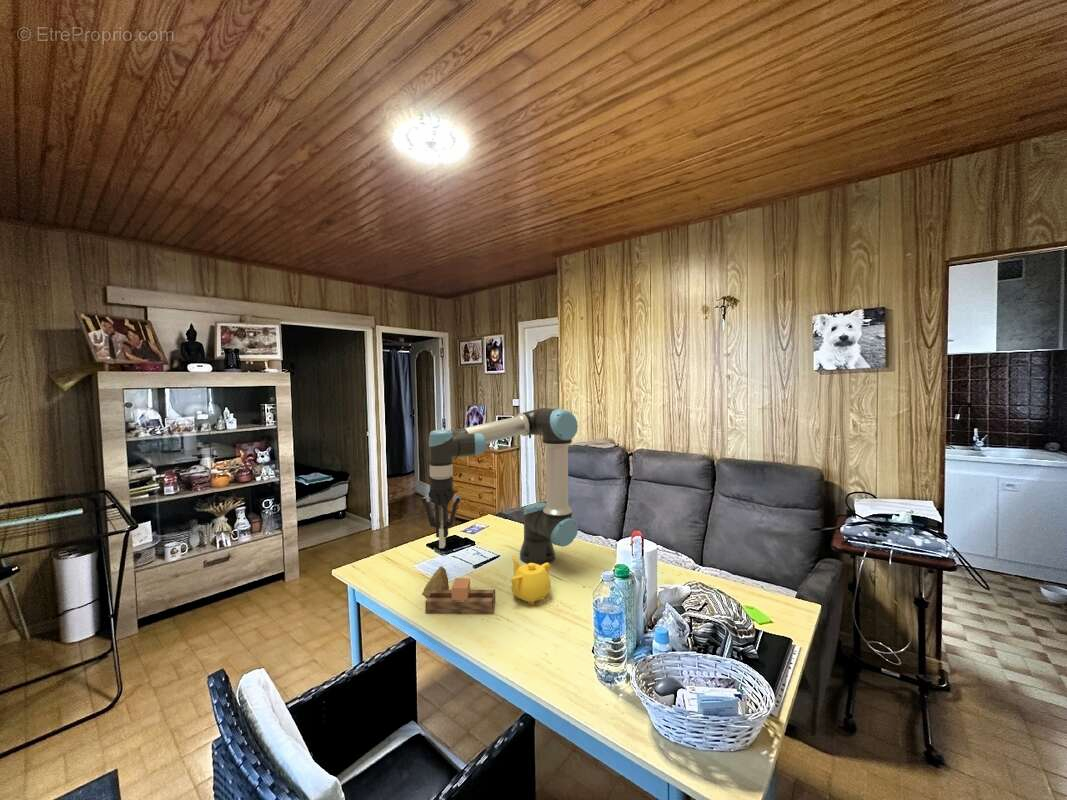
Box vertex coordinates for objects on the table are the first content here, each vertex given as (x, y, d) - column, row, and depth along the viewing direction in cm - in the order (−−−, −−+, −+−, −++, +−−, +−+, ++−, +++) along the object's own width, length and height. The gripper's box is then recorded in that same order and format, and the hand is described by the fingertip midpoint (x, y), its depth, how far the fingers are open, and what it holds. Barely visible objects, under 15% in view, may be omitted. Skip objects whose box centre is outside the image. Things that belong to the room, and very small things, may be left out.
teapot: (549, 586, 154) (549, 554, 154) (551, 607, 140) (552, 572, 139) (511, 586, 154) (511, 555, 153) (510, 607, 140) (510, 572, 139)
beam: (495, 600, 144) (495, 588, 144) (493, 614, 135) (493, 601, 135) (431, 600, 144) (431, 588, 144) (425, 614, 135) (425, 601, 135)
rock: (457, 595, 143) (453, 583, 153) (445, 574, 142) (442, 564, 152) (428, 614, 140) (426, 601, 150) (416, 593, 139) (415, 581, 149)
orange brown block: (470, 597, 143) (470, 578, 143) (467, 608, 136) (466, 588, 136) (455, 597, 143) (455, 578, 143) (451, 608, 136) (451, 588, 136)
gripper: (462, 474, 143) (463, 542, 144) (424, 474, 142) (425, 542, 143) (459, 479, 135) (459, 550, 136) (418, 479, 135) (419, 551, 136)
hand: (442, 546), depth 140 cm, fingers closed
